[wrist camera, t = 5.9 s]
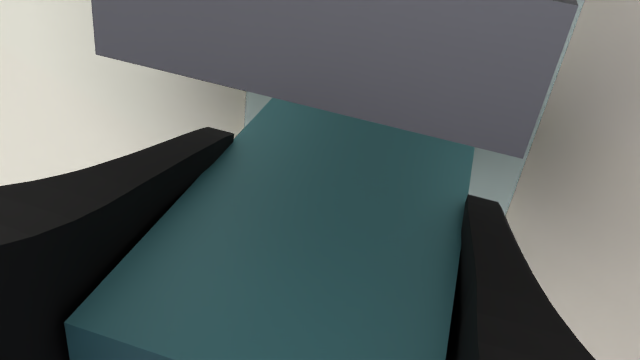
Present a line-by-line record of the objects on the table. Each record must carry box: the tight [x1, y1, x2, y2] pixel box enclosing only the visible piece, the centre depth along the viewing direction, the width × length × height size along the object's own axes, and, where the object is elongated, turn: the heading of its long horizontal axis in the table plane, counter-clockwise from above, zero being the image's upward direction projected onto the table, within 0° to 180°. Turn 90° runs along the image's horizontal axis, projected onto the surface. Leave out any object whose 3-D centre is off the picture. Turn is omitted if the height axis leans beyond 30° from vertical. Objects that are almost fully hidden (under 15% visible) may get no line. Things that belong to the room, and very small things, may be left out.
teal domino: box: [64, 98, 475, 360], centre depth 12 cm, size 2×5×9 cm, turn 82°
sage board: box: [244, 0, 585, 216], centre depth 16 cm, size 8×26×1 cm, turn 173°
